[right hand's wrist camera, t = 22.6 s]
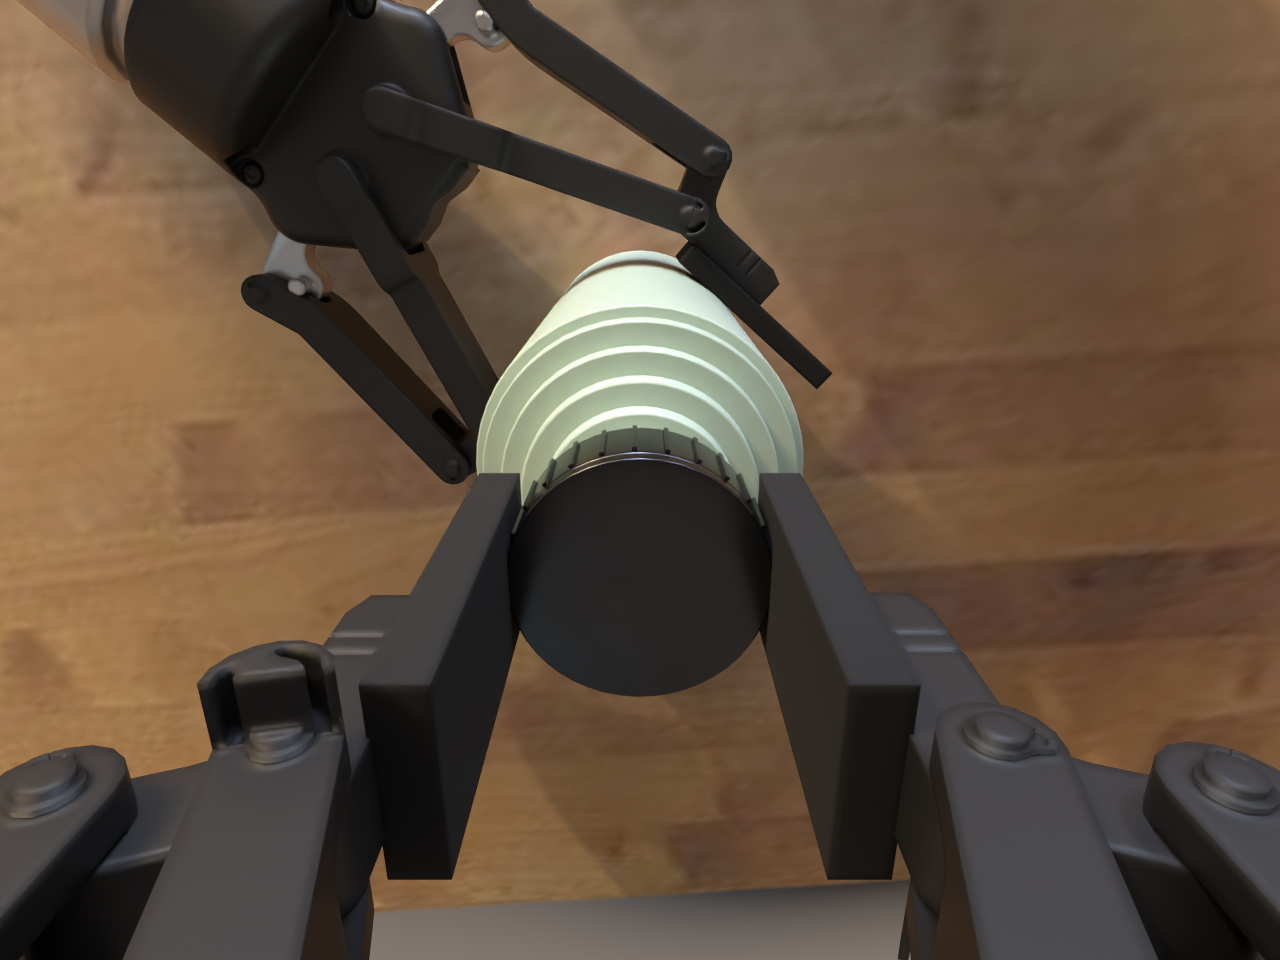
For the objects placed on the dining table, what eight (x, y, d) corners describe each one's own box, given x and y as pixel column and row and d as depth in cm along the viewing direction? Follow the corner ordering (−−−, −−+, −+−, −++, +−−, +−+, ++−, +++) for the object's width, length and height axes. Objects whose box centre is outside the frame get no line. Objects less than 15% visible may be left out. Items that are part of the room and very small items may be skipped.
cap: (636, 685, 16) (636, 743, 14) (467, 536, 15) (445, 580, 13) (811, 544, 15) (833, 589, 13) (643, 370, 13) (643, 396, 12)
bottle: (605, 455, 36) (559, 796, 16) (518, 304, 33) (332, 478, 13) (757, 378, 34) (922, 641, 14) (678, 216, 32) (744, 257, 12)
